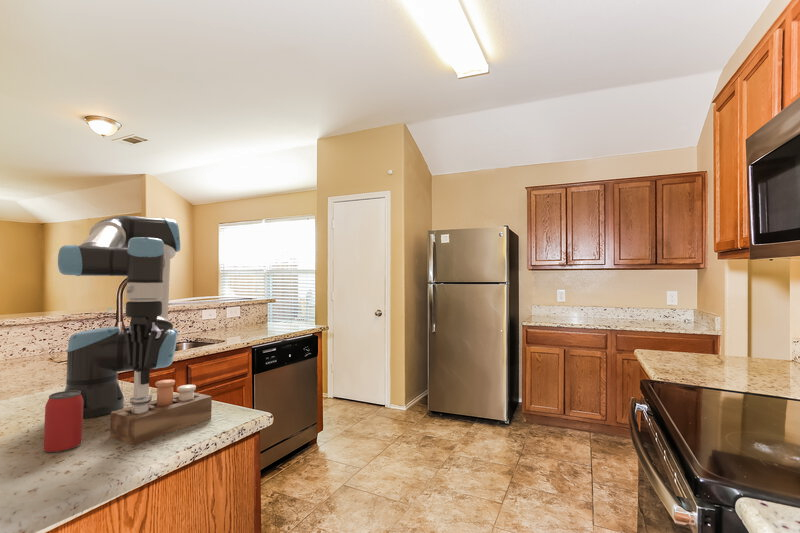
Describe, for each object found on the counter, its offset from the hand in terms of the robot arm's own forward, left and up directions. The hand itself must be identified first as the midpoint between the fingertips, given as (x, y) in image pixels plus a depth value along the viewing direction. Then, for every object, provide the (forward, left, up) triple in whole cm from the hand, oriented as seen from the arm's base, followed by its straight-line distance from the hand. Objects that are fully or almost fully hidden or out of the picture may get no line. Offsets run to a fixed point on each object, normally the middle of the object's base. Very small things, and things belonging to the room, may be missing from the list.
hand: (141, 396), depth 95 cm
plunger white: (0, +12, -7) cm, 14 cm away
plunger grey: (0, 0, -7) cm, 7 cm away
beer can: (-8, -12, -10) cm, 17 cm away
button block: (0, +6, -9) cm, 11 cm away
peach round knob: (0, +6, -5) cm, 8 cm away
